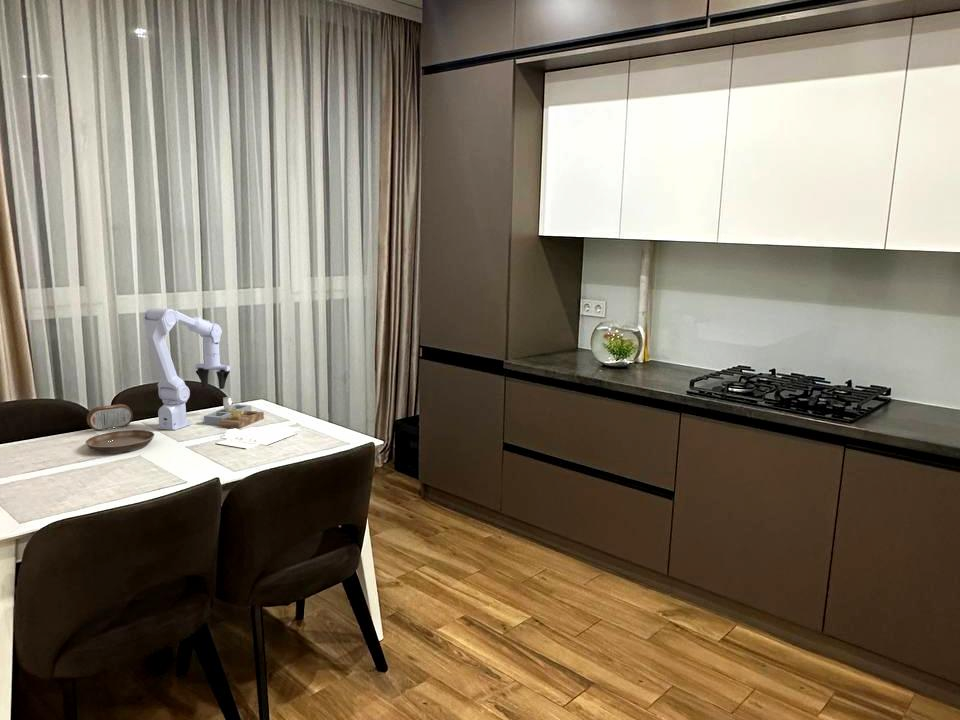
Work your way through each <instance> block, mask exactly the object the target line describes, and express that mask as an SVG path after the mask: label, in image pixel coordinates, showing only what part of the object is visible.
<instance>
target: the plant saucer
mask: <svg viewBox="0 0 960 720" xmlns="http://www.w3.org/2000/svg"><path fill="white" fill-rule="evenodd" d="M154 437H155V433H154V432H152V431H149V430H145V429H144V430H143V429H128V430H127V429H126V430H118V431H117V430H116V431H110V432H105V433H101V434H98V435H94V436H92V437H90V438H88V439H86V441H85V444H86V446H87V447H88V448H89V449H90V450H92V451H94V452H96V453H99V454H122V453H129V452H135V451H138V450H140V449H143V448H145V447H147V446H148V445H149V444H150V443H151V442H152V440H154ZM112 440H113V441H112ZM108 441H109V442H108ZM110 441H111V442H110Z"/></svg>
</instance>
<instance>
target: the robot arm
mask: <svg viewBox="0 0 960 720" xmlns="http://www.w3.org/2000/svg"><path fill="white" fill-rule="evenodd" d="M142 320H143V323H144V326H145V338H146V340H147V343H148V347H149V349H150V351H151V354H152V357H153V360H154V363H155V366H156V369H157V371H158V375H159V376H160V380H159V382H158V383H157V388H158V397H159V399H161V400H162V403H163V405H162V406H160V407H159V409H158V411H157V416H158V418H157V419H158V426H157V428H156V429H161V430H171V431H178V430H179V429H182V428H185V427H188V426H190V425H192V424H193V422H189V421H187V410H186V409H187V408H186V403H187V402H188V400H189V398H190V395H191V393H190V392H191V391H190V389H189V386H187V385H186V383H185V380H183V379H182V378H180V377H179V376H178V374H177V371H176V368H175V364H174V362H173V360H172V356H171V354H170V350H169V348H168V345H167V342H166V339H165V336H166V335H168V334H169V333H170V331H171V330H172V329H173V327H174V326H175V324H180V325H183V326H186V327H187V329H188V330H189V331H190V332H192V333H195V334H198V335H200V337H201V338H202V342H203V357H204V358H203V360H204V363H200V362H199V363H195V364H194V367H195V374H196V375H197V376H198V378H199V380H200V382H201V385H202V388H203V389H204V388H208V387H209V380H208V379H209V372H210V370H211V371H216V372H215V374H216V375H217V379H218V387H219V390H223V389H225V387H226V383H227V382H226V381H227V379H228V377H229V374H230V372H231V366H230V365H227V364H222V363H221V355H220V342H221V337H222V334H223V329H222V328H221V326H220V325H219V324H218V323H213V322H210V320H208V319H203V318H202V316H200V315H196V316H192V317H190V316H188V315H186V314H184V313H182V312H180V311H178V310H176V309H173V308H155V307H149V308H147V309H146V311H145V313H144V314H143V316H142Z"/></svg>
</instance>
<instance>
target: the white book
mask: <svg viewBox="0 0 960 720" xmlns="http://www.w3.org/2000/svg"><path fill="white" fill-rule="evenodd" d="M300 430H301V428H299V427H295V426H294V427H292V426H286V425H285V426H284V425H278V424H272V423H270V424H268V425H264V426H262V427H261V426H260V427H257V426H255V427H254V426H251V427H247V428H244V429H241V430H240V429H236V428H228V429H227V430H226V432H225V435H224V436H220V439H223V440H221V441H218V442H215V443H214V444H215V445H218V444H219V445H224V446H229V447H230V446H231V447H236V448H241V449H243V448H244V449H246V450H249V449H251V448H254V447H257V446H264V447H267V446H268V445H270V444H272V443H276V442H278V441H281V440H284V439H285V438H289V437H292V436H294V435H298V434H297V433H294V432H298V431H300Z"/></svg>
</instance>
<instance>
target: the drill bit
mask: <svg viewBox="0 0 960 720" xmlns="http://www.w3.org/2000/svg"><path fill="white" fill-rule="evenodd" d="M222 400H223V401H222V402H223V403H222V404H223V409H224V412H228V410H229V409H230V410H233V408H232V405H233V397H232V396H226V397H223V398H222Z"/></svg>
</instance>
